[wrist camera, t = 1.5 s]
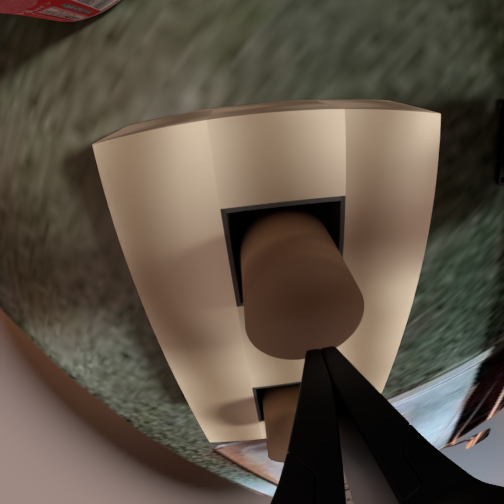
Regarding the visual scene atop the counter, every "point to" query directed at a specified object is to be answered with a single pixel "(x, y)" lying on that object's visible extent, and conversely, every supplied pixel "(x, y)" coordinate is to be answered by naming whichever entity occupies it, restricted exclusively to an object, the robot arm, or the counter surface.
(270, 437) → the peg
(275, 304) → the peg
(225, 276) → the block
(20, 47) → the counter surface
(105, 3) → the soda can
